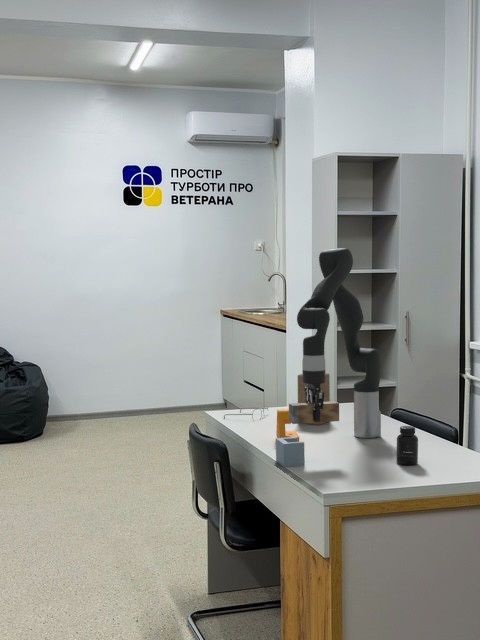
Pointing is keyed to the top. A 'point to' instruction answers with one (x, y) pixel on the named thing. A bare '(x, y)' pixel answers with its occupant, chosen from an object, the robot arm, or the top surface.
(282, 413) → the bracket
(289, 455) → the grey u-channel
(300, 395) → the wooden block
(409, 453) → the supplement bottle
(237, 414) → the eyeglasses
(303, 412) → the rail
